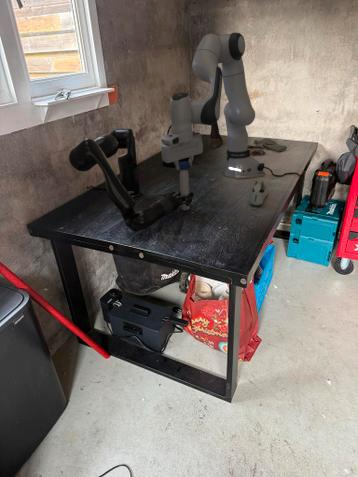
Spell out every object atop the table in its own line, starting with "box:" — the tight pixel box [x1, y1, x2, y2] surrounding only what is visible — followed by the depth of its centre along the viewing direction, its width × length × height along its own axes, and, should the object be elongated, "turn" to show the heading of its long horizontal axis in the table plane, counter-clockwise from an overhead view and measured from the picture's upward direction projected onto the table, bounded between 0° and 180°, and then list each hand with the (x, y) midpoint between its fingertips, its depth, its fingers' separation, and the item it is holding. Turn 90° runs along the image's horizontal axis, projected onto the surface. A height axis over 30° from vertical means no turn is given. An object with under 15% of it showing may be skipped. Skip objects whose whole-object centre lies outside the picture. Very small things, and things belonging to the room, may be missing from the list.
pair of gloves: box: [247, 138, 288, 155], centre depth 230 cm, size 30×26×5 cm
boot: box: [209, 121, 224, 149], centre depth 245 cm, size 9×24×20 cm, turn 168°
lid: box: [178, 160, 191, 170], centre depth 144 cm, size 5×5×2 cm
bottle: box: [179, 169, 191, 211], centre depth 149 cm, size 4×4×19 cm
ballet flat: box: [249, 179, 269, 207], centre depth 158 cm, size 8×24×8 cm, turn 163°
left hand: (188, 193), depth 152 cm, fingers closed on bottle, 4 cm apart
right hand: (184, 167), depth 144 cm, fingers closed on lid, 5 cm apart
